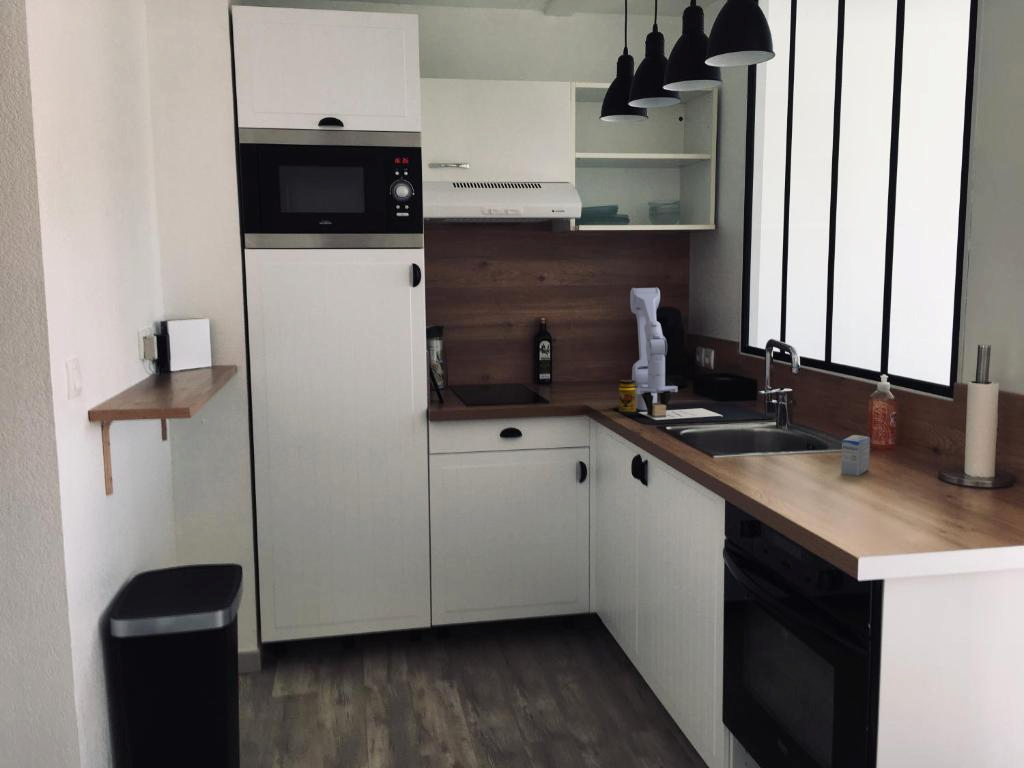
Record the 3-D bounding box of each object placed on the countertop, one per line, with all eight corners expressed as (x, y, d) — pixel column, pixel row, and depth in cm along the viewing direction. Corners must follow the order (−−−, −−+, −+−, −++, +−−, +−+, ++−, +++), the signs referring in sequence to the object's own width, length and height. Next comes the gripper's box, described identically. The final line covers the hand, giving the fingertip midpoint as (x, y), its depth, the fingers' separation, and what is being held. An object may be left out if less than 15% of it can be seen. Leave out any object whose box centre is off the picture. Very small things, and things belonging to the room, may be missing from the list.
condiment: (622, 416, 312) (622, 382, 310) (612, 412, 320) (612, 379, 318) (641, 414, 314) (641, 380, 312) (631, 411, 322) (631, 378, 320)
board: (638, 415, 311) (638, 412, 311) (702, 411, 317) (702, 408, 317) (656, 423, 296) (656, 419, 296) (722, 418, 301) (722, 415, 301)
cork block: (647, 414, 306) (647, 403, 306) (657, 413, 307) (657, 402, 306) (654, 417, 299) (654, 406, 299) (666, 417, 300) (666, 405, 300)
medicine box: (851, 468, 228) (852, 434, 226) (869, 470, 225) (870, 436, 224) (840, 474, 222) (841, 439, 220) (858, 476, 219) (859, 441, 218)
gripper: (640, 376, 296) (640, 417, 298) (681, 374, 299) (681, 414, 301) (632, 374, 303) (633, 414, 304) (672, 372, 306) (672, 411, 308)
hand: (656, 414), depth 303 cm, fingers closed on cork block, 4 cm apart
